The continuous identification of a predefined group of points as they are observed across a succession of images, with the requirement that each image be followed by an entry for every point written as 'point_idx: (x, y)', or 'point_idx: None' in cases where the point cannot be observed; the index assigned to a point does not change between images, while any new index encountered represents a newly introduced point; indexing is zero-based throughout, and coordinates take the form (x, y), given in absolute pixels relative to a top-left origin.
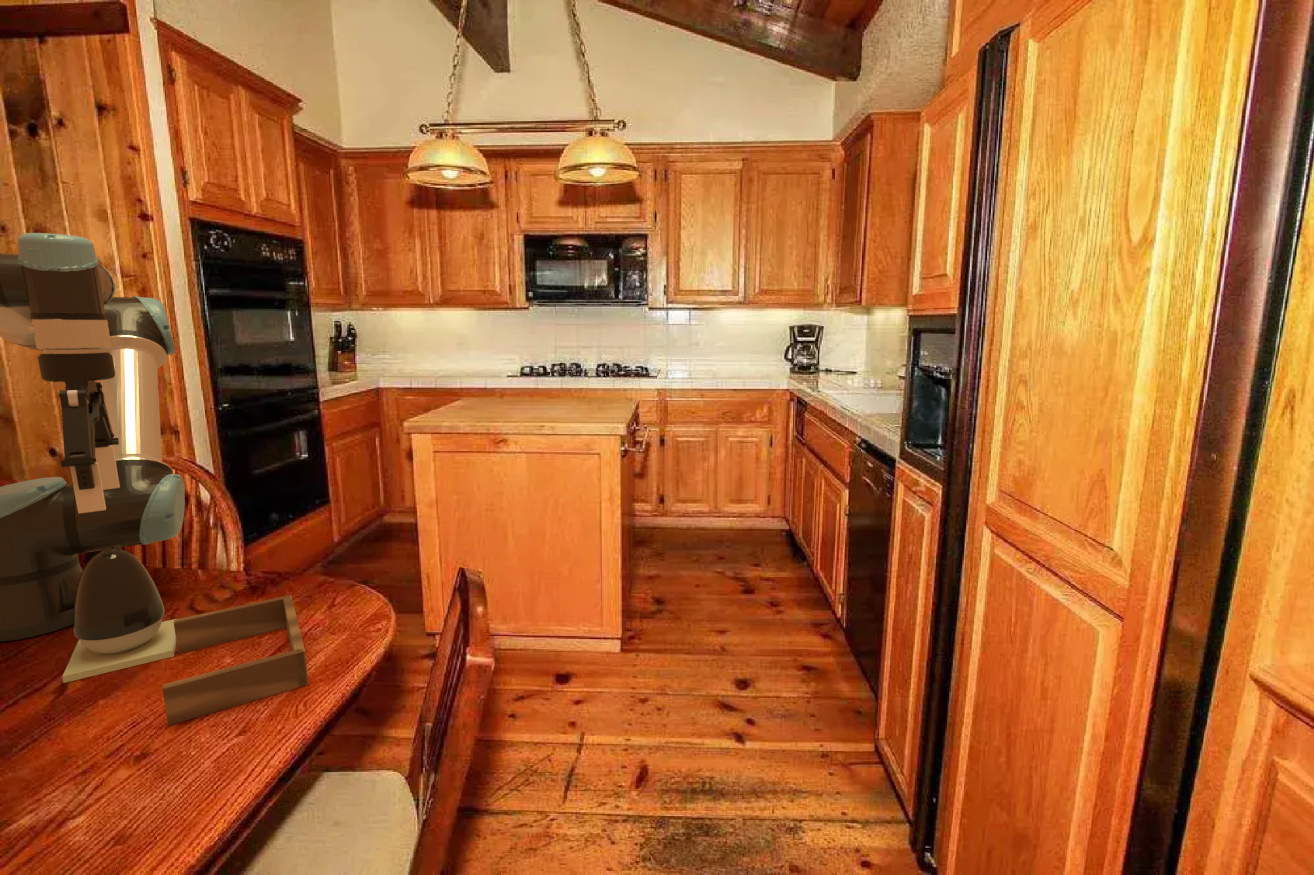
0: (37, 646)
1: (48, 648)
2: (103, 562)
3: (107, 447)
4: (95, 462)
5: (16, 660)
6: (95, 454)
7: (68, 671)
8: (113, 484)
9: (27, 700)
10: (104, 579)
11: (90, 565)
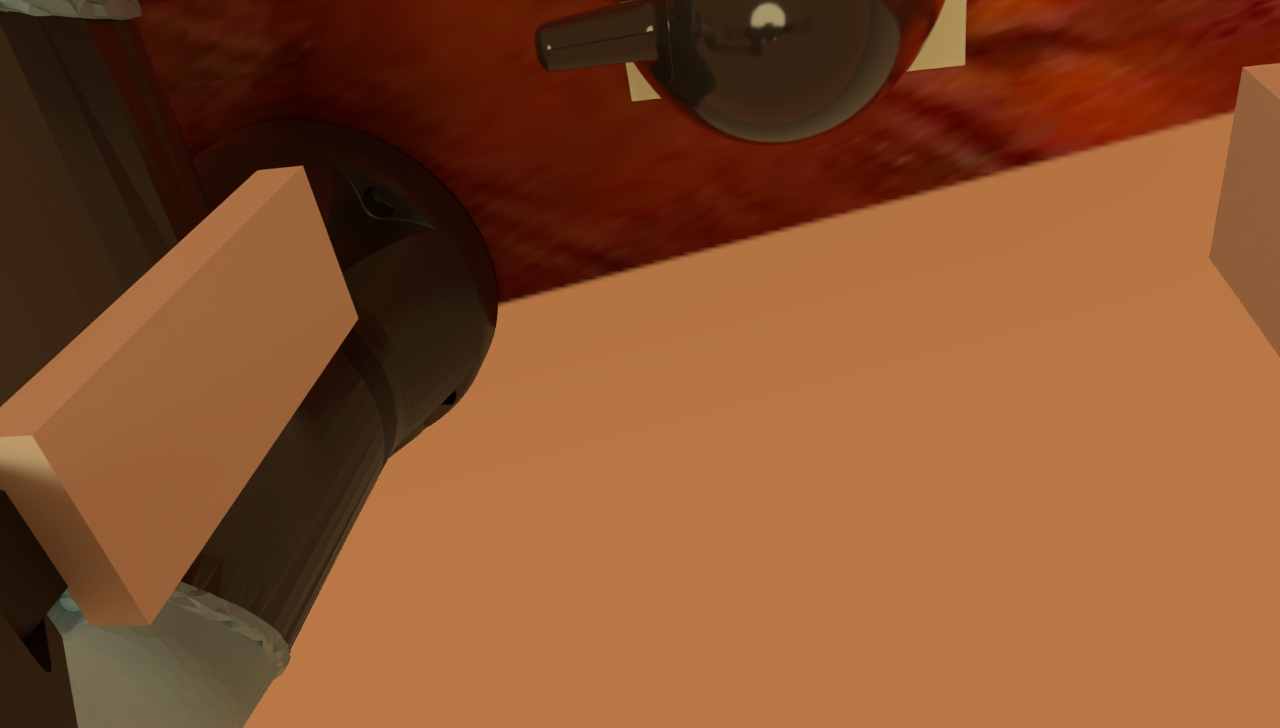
0: (573, 224)
1: (607, 187)
2: (877, 40)
3: (65, 476)
4: (224, 463)
5: (665, 250)
6: (166, 521)
7: (932, 55)
8: (299, 219)
9: (1031, 128)
10: (920, 7)
11: (844, 107)
